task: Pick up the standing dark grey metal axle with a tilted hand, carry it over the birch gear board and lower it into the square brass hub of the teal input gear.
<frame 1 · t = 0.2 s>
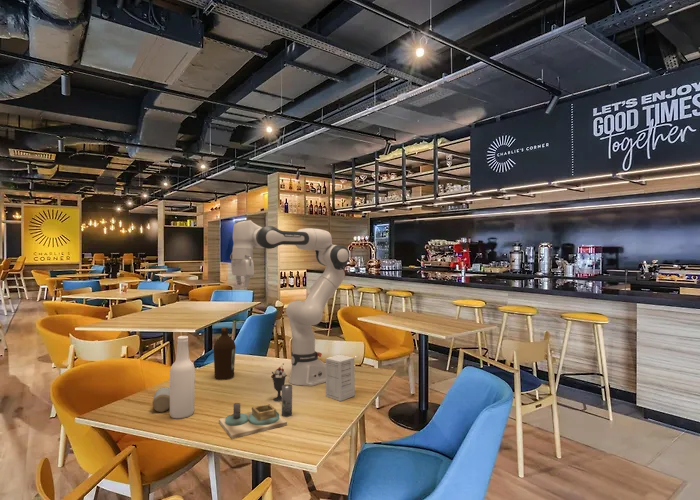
hand: (242, 286, 178), 48 cm above the table, tool pointing down, fingers open, 8 cm apart
axle: (286, 414, 152), on the table
sundae: (279, 399, 169), on the table
alcohol: (182, 415, 152), on the table
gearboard: (252, 423, 144), on the table
olive oil: (224, 377, 200), on the table
supplement box: (340, 396, 173), on the table
ceramic mug: (167, 409, 158), on the table
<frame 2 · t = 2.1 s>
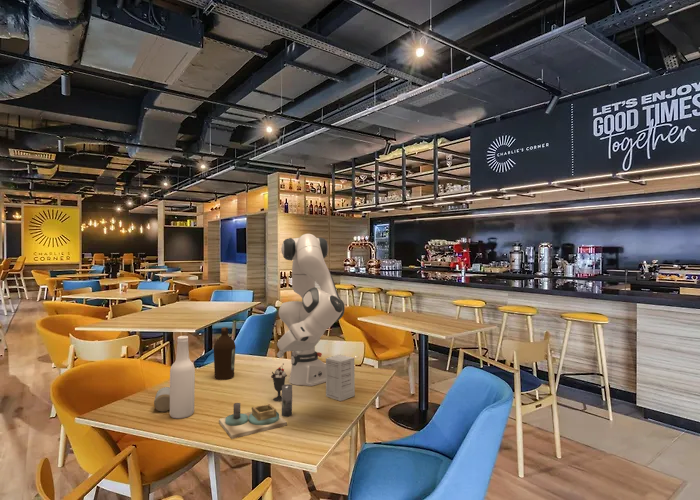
hand: (286, 355, 151), 23 cm above the table, tool tilted 45°, fingers open, 8 cm apart
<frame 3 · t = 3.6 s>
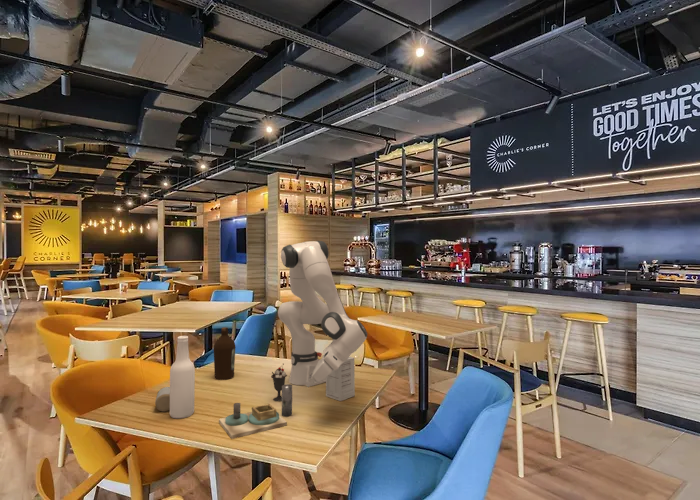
hand: (308, 381, 152), 13 cm above the table, tool tilted 45°, fingers open, 8 cm apart
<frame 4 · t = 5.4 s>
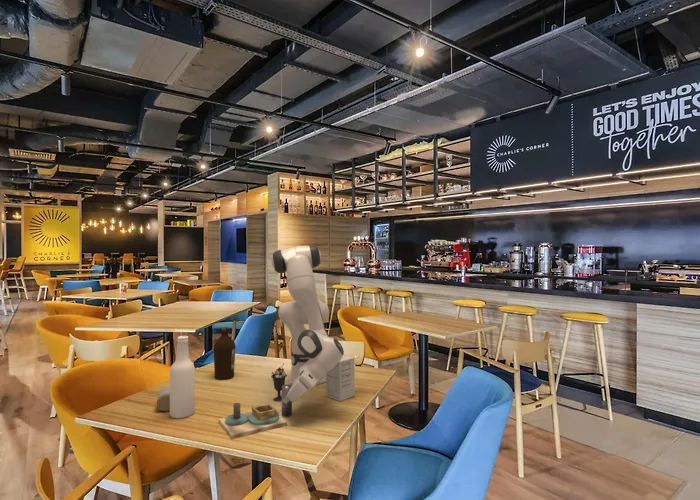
hand: (285, 399, 152), 6 cm above the table, tool tilted 45°, fingers closed on axle, 4 cm apart
axle: (286, 414, 152), on the table, touching gripper
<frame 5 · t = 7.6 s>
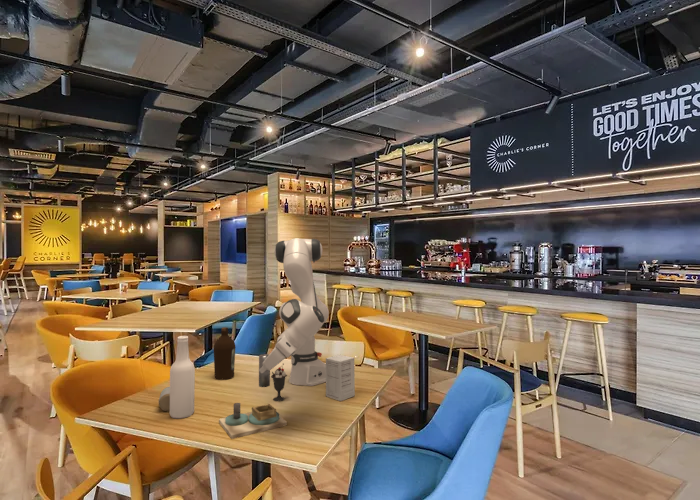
hand: (262, 369, 146), 19 cm above the table, tool tilted 45°, fingers closed on axle, 4 cm apart
axle: (264, 385, 146), point 13 cm above the table, touching gripper
when the fingers open (9 cm above the table, at t = 9.7 s): axle stays where it is, resting on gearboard.
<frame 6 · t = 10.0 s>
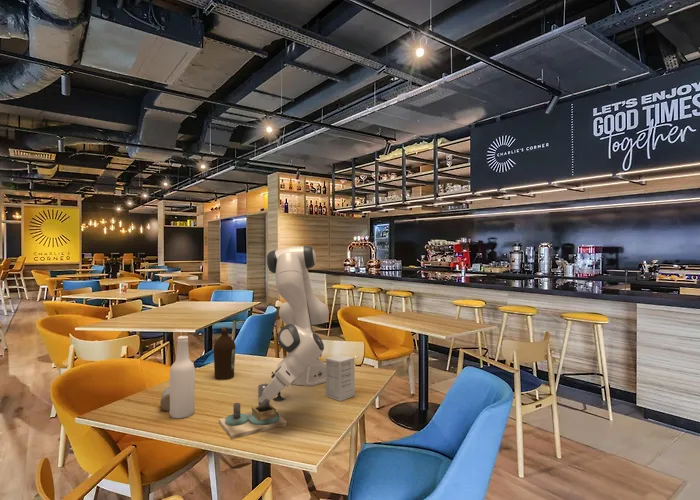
hand: (262, 396, 145), 9 cm above the table, tool tilted 45°, fingers open, 7 cm apart
axle: (264, 415, 145), point 2 cm above the table, touching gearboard
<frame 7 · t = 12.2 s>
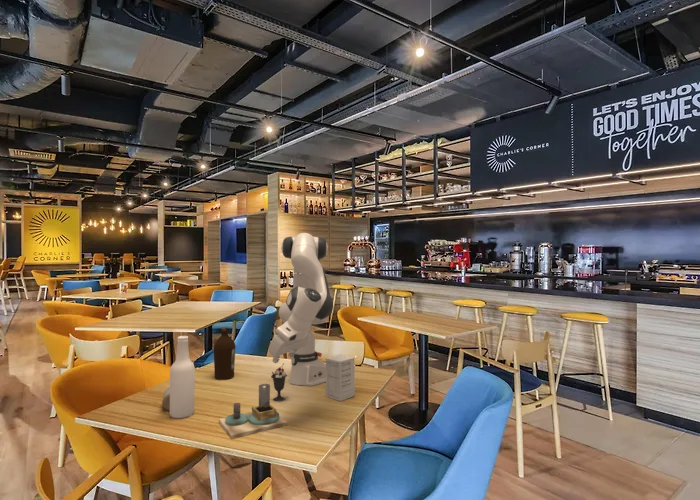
hand: (282, 359, 152), 22 cm above the table, tool tilted 30°, fingers open, 8 cm apart
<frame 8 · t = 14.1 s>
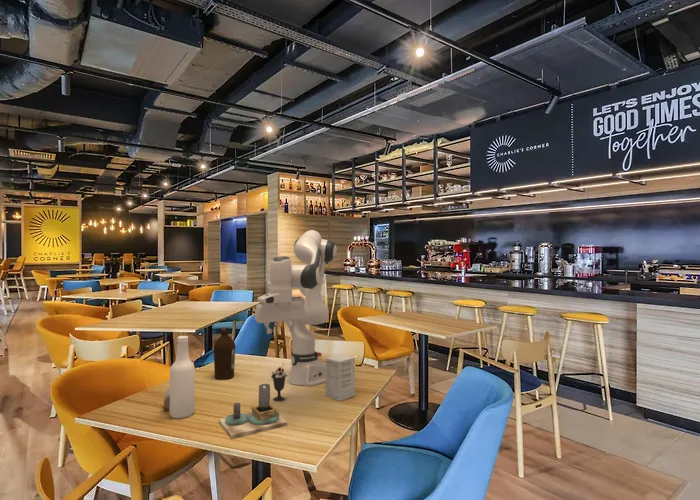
hand: (280, 332, 156), 31 cm above the table, tool pointing down, fingers open, 8 cm apart
at the end: axle 0.0 cm from the target spot on the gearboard, point 2.4 cm above the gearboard's base; axle tilted 0°; the gripper is holding nothing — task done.
